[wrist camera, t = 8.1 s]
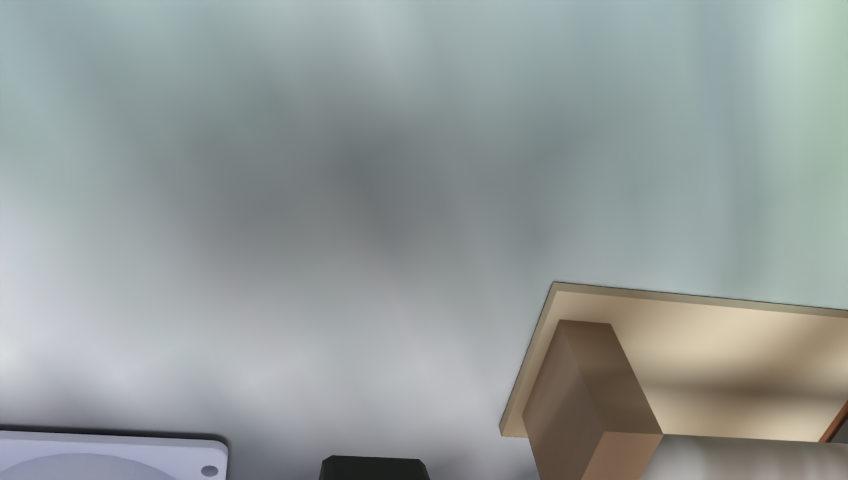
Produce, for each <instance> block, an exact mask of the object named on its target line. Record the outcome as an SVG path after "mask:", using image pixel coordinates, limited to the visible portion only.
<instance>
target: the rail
mask: <svg viewBox="0 0 848 480" xmlns="http://www.w3.org/2000/svg"><path fill="white" fill-rule="evenodd" d="M847 418H848V311H845V310H835V309H825V308H814V307H804V306H794V305H783V304H773V303H763V302H752V301H742V300H732V299H721V298H711V297H701V296H690V295H680V294H670V293H659V292H649V291H639V290H629V289H618V288H608V287H598V286H587V285H577V284H567V283H556V282H553V284H552V287H551V290H550V292H549V295H548V298H547V300H546V303H545V306H544V308H543V311H542V314H541V316H540V319H539V322H538V324H537V327H536V330H535V332H534V335H533V338H532V340H531V343H530V346H529V348H528V351H527V354H526V356H525V359H524V362H523V364H522V367H521V370H520V372H519V375H518V378H517V380H516V383H515V386H514V388H513V391H512V394H511V396H510V399H509V402H508V404H507V407H506V410H505V412H504V415H503V418H502V420H501V423H500V426H499V428H500V432H501V436H505V437H525V438H529V442H530V445H531V449H532V452H533V455H534V459H535V462H536V466H537V469H538V472H539V476H540V479H541V480H848V444H844V443H830V442H831V441H832V439H833V438H834V436H835V435H836V434H837V432H838V431H839V429H840V428H841V427H842V425H843V424H844V423H845V421H846V420H847Z"/></svg>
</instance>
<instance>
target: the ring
mask: <svg viewBox="0 0 848 480" xmlns="http://www.w3.org/2000/svg"><path fill="white" fill-rule="evenodd" d="M830 443H844V444H848V418H847V420H846V421H845V423H844V424H843V425H842V427H841V428H840V429H839V431H838V432H837V434H836V435H835V436H834V438H833V439H832V441H831V442H830Z"/></svg>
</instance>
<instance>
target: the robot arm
mask: <svg viewBox="0 0 848 480" xmlns="http://www.w3.org/2000/svg"><path fill="white" fill-rule="evenodd" d="M227 459H228V448H227V447H226V446H225V445H224V444H223V443H221V442H219V441H214V440H195V439H173V438H152V437H130V436H108V435H86V434H64V433H43V432H21V431H0V480H225V479H226V469H227ZM209 465H211V466H209ZM319 480H430V478H429V475H428V473H427V470H426V467H425V465H424V464H423V463H422V462H421V461H420V460H419V459H403V458H380V457H357V456H334V455H332V456H330V457H328V458H327V459H325V460H323V462H322V467H321V472H320V477H319Z"/></svg>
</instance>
